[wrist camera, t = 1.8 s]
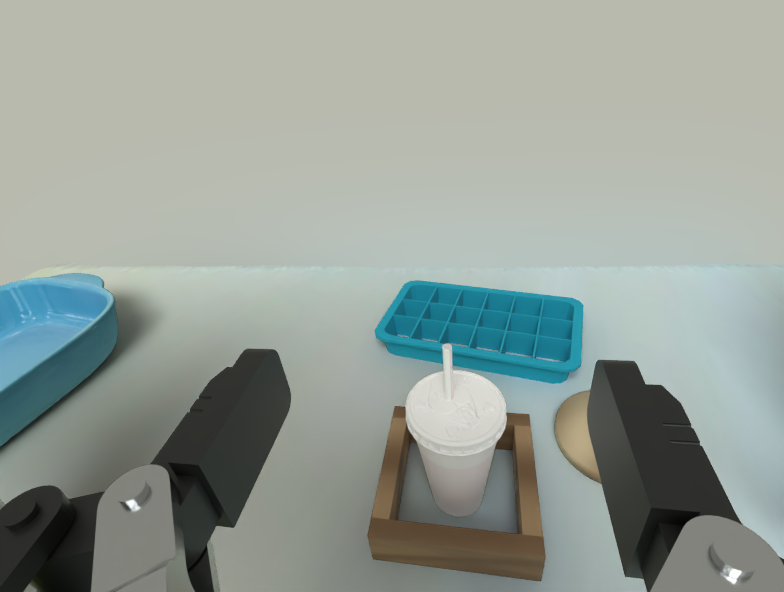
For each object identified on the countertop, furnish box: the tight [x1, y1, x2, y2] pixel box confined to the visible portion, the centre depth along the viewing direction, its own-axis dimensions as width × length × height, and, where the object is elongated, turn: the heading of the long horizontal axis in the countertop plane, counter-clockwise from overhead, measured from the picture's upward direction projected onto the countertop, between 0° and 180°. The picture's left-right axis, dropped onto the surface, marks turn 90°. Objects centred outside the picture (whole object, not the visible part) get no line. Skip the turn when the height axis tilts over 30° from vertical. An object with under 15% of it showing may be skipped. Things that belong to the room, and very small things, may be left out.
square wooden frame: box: [367, 406, 545, 581], centre depth 32 cm, size 11×11×3 cm
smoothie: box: [405, 343, 507, 517], centre depth 29 cm, size 6×6×14 cm
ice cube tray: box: [375, 280, 583, 383], centre depth 47 cm, size 12×20×3 cm, turn 69°
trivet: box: [555, 390, 602, 484], centre depth 35 cm, size 9×9×1 cm
